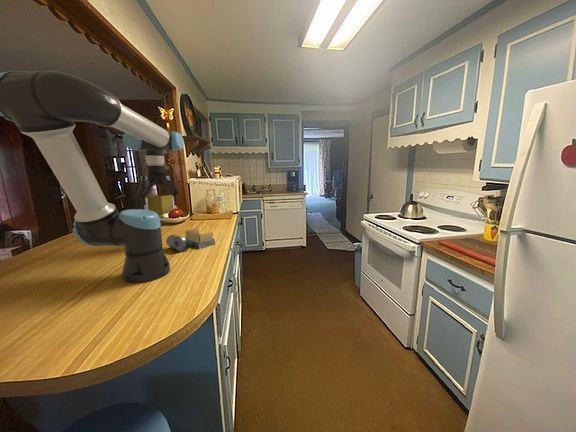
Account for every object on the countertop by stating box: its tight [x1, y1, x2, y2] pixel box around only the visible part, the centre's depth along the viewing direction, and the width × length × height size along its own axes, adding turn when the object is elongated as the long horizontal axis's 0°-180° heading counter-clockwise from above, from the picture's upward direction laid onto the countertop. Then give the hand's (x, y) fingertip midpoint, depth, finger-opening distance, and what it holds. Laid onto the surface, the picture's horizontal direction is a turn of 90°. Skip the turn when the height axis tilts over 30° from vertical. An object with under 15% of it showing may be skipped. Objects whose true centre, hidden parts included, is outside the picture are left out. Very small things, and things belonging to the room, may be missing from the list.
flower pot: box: [145, 194, 172, 215], centre depth 115 cm, size 9×9×9 cm
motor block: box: [165, 227, 216, 253], centre depth 116 cm, size 14×19×6 cm
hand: (160, 210), depth 116 cm, fingers closed on flower pot, 11 cm apart
